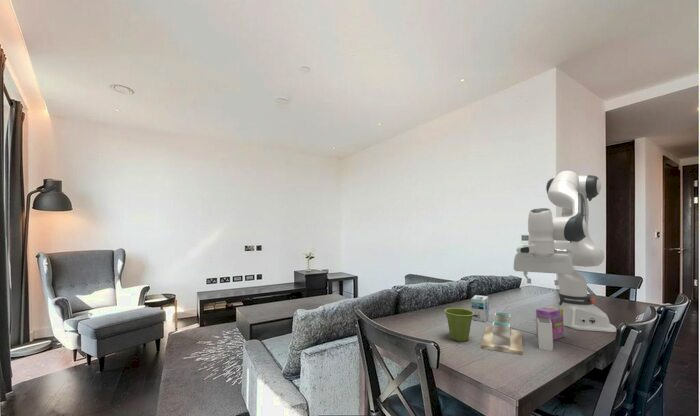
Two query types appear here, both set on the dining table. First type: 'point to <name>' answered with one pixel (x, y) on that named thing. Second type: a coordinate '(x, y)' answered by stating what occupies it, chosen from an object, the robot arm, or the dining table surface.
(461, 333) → the plant pot
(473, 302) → the light bulb box
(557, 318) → the box
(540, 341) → the block
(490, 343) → the board
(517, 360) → the dining table surface
